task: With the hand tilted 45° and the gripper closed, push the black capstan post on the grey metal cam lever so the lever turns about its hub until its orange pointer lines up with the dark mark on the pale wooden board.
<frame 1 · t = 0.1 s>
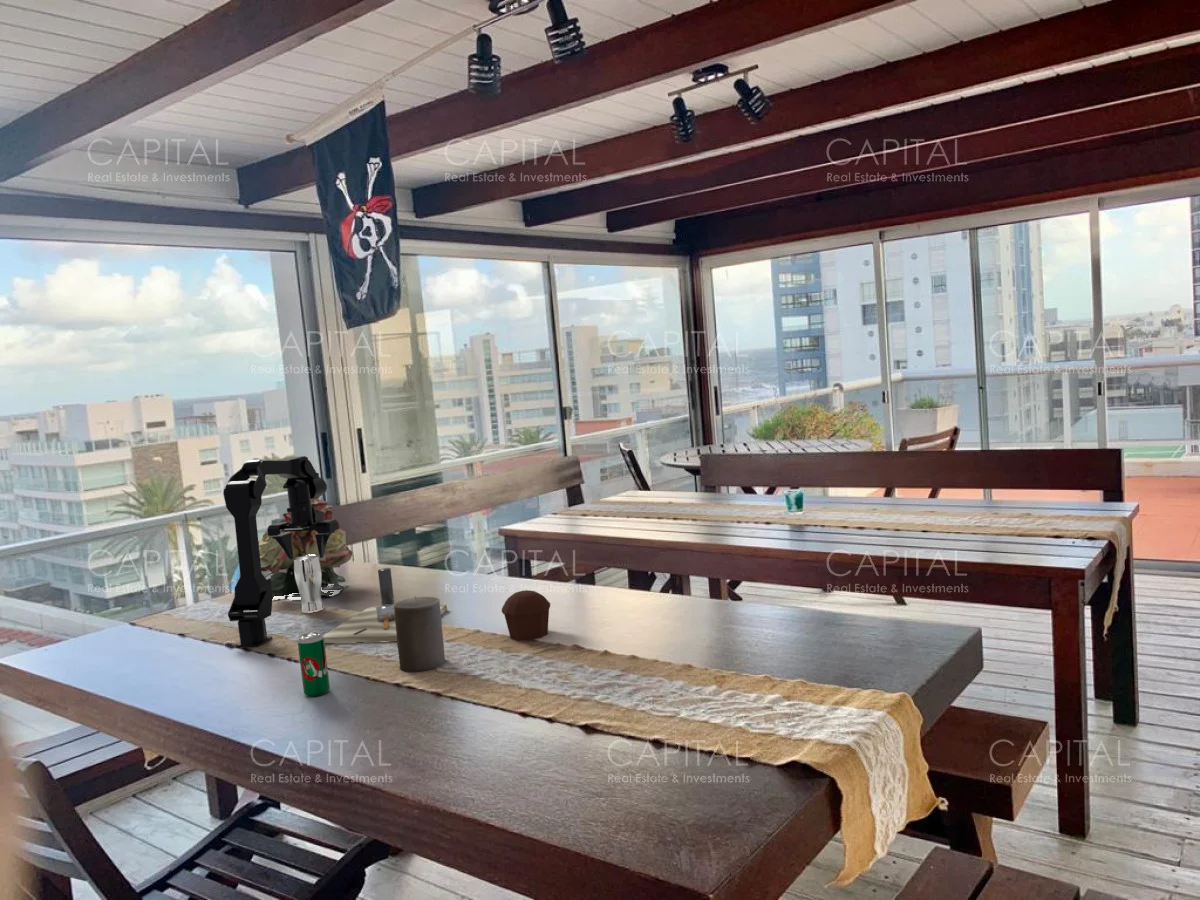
hand: (306, 558, 247), 15 cm above the table, tool pointing down, fingers open, 9 cm apart
cam lever: (385, 597, 225), point 7 cm above the table, hinge at 0.0°
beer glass: (312, 611, 248), on the table
pillar candle: (423, 665, 193), on the table
rose bouquet: (313, 592, 272), on the table
muffin: (528, 635, 207), on the table
dial board: (386, 626, 225), on the table
soda can: (317, 694, 180), on the table
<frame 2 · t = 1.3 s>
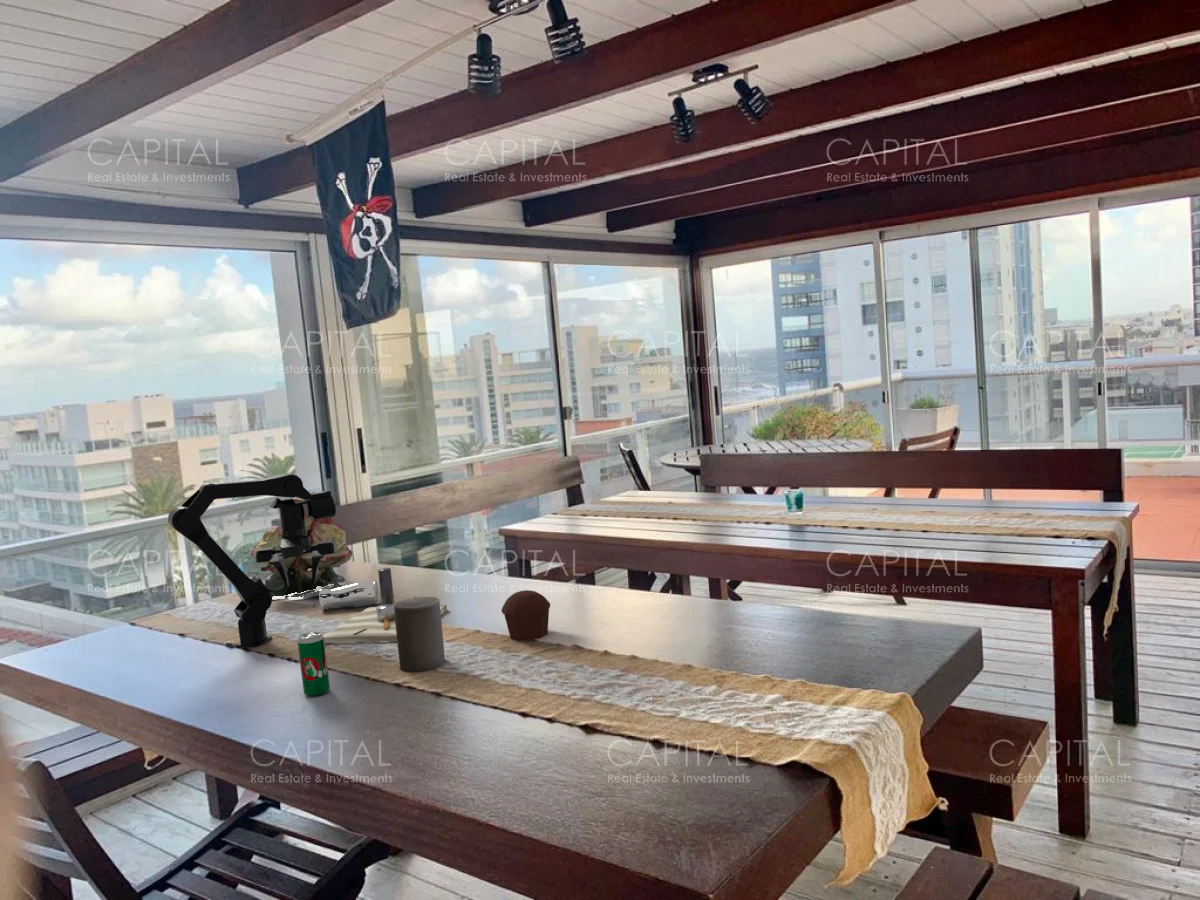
hand: (300, 584, 227), 12 cm above the table, tool pointing down, fingers open, 6 cm apart
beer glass: (321, 599, 248), point 3 cm above the table
everything else where it was.
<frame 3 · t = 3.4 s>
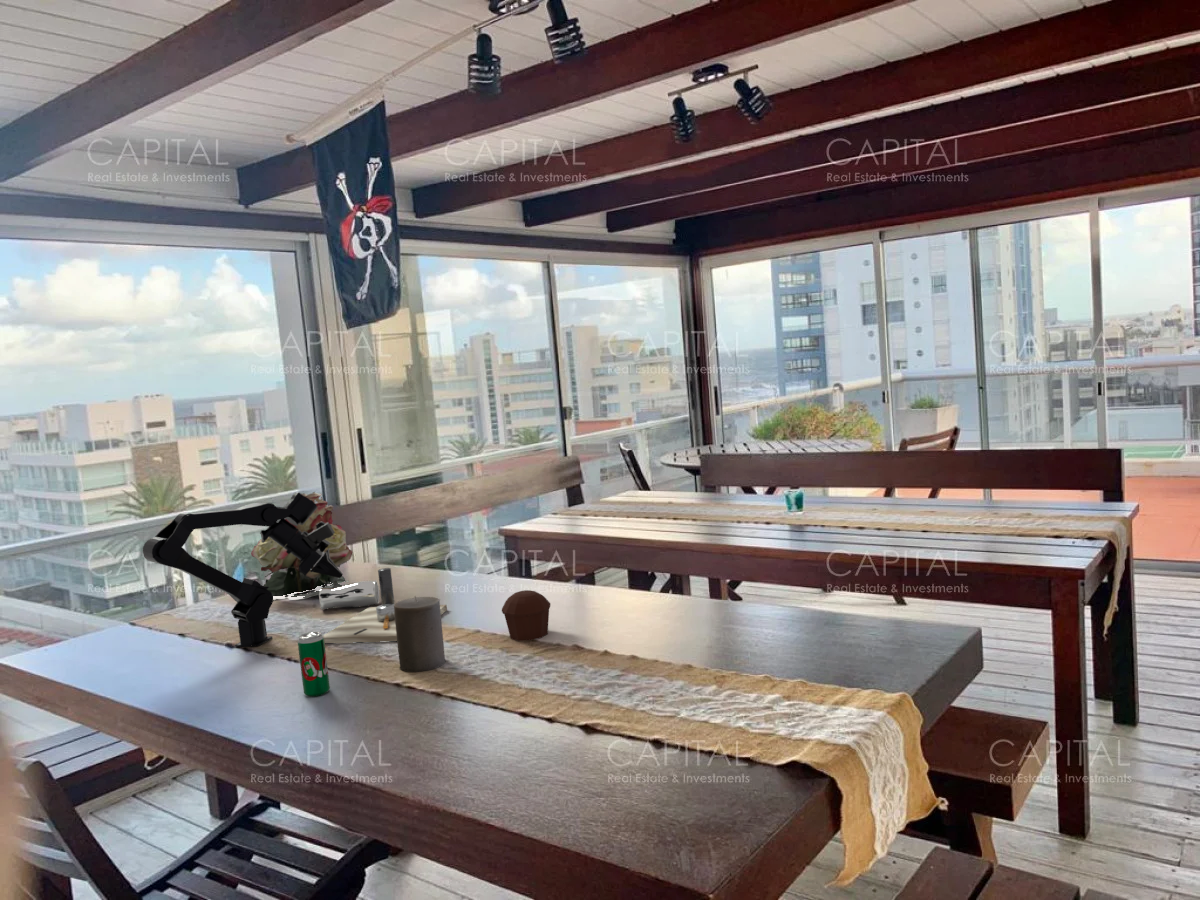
hand: (341, 576, 230), 13 cm above the table, tool tilted 45°, fingers closed
nothing on the table moved.
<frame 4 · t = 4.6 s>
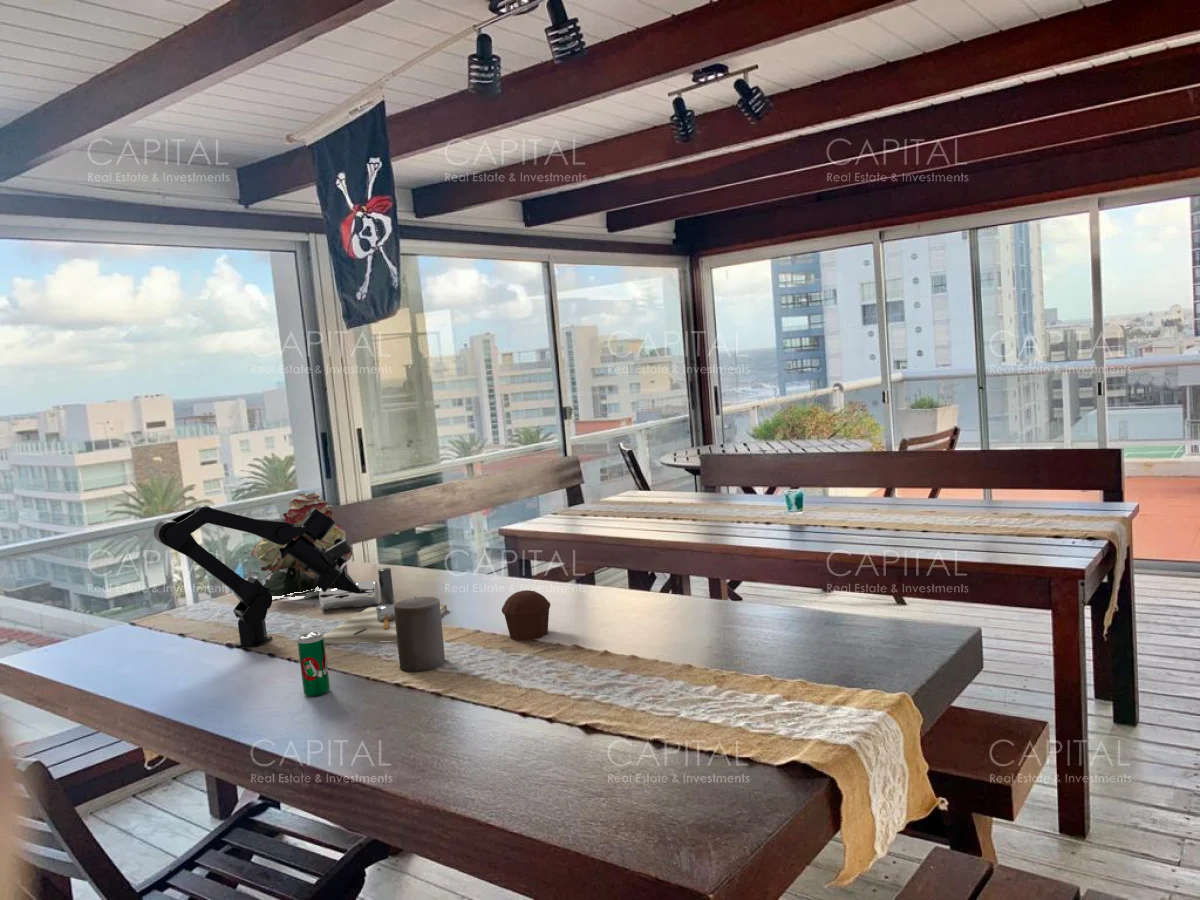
hand: (359, 592, 231), 8 cm above the table, tool tilted 45°, fingers closed
nothing on the table moved.
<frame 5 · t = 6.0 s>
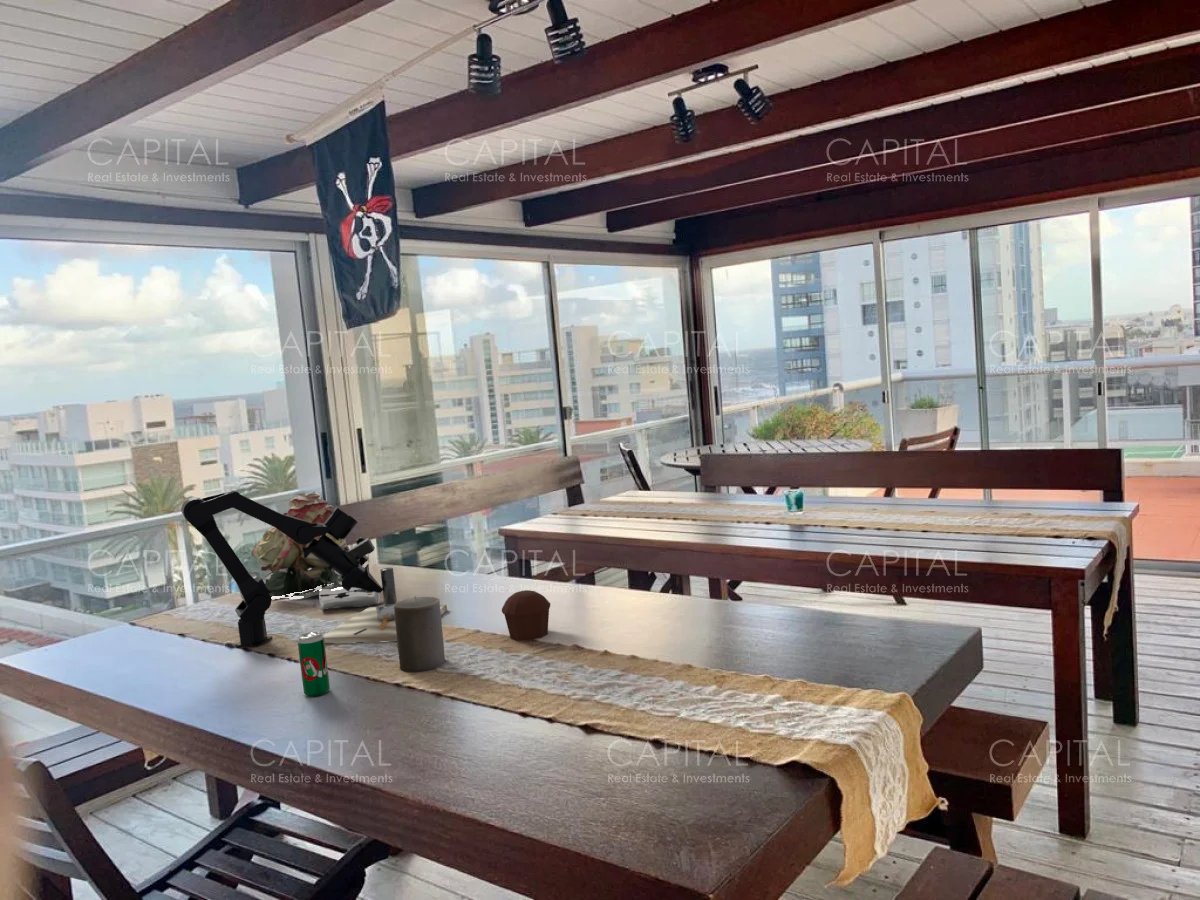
hand: (381, 591, 232), 7 cm above the table, tool tilted 45°, fingers closed, pressing on cam lever
cam lever: (384, 597, 225), point 7 cm above the table, hinge at -5.1°, touching gripper
everything else where it was.
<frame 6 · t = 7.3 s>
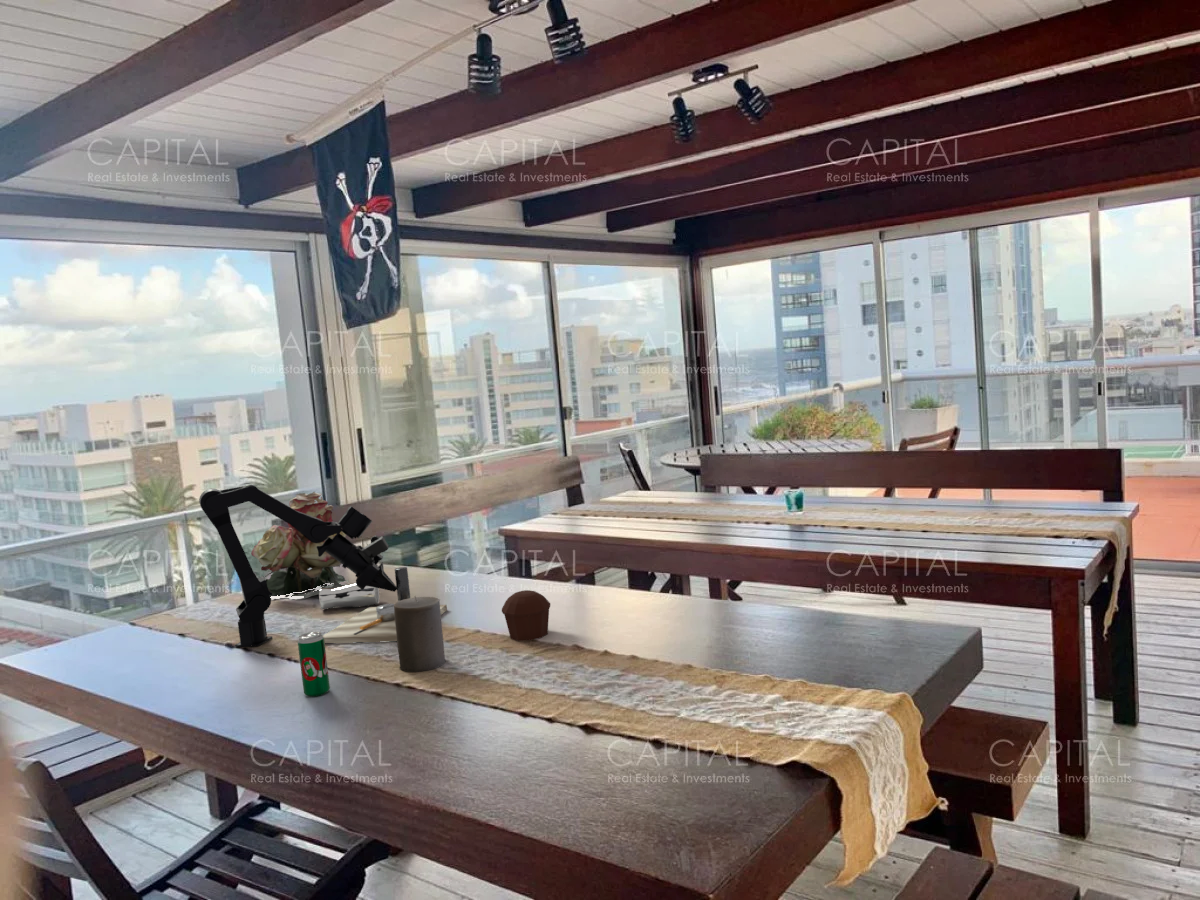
hand: (396, 589, 232), 7 cm above the table, tool tilted 45°, fingers closed
cam lever: (383, 597, 225), point 7 cm above the table, hinge at -37.3°, touching gripper
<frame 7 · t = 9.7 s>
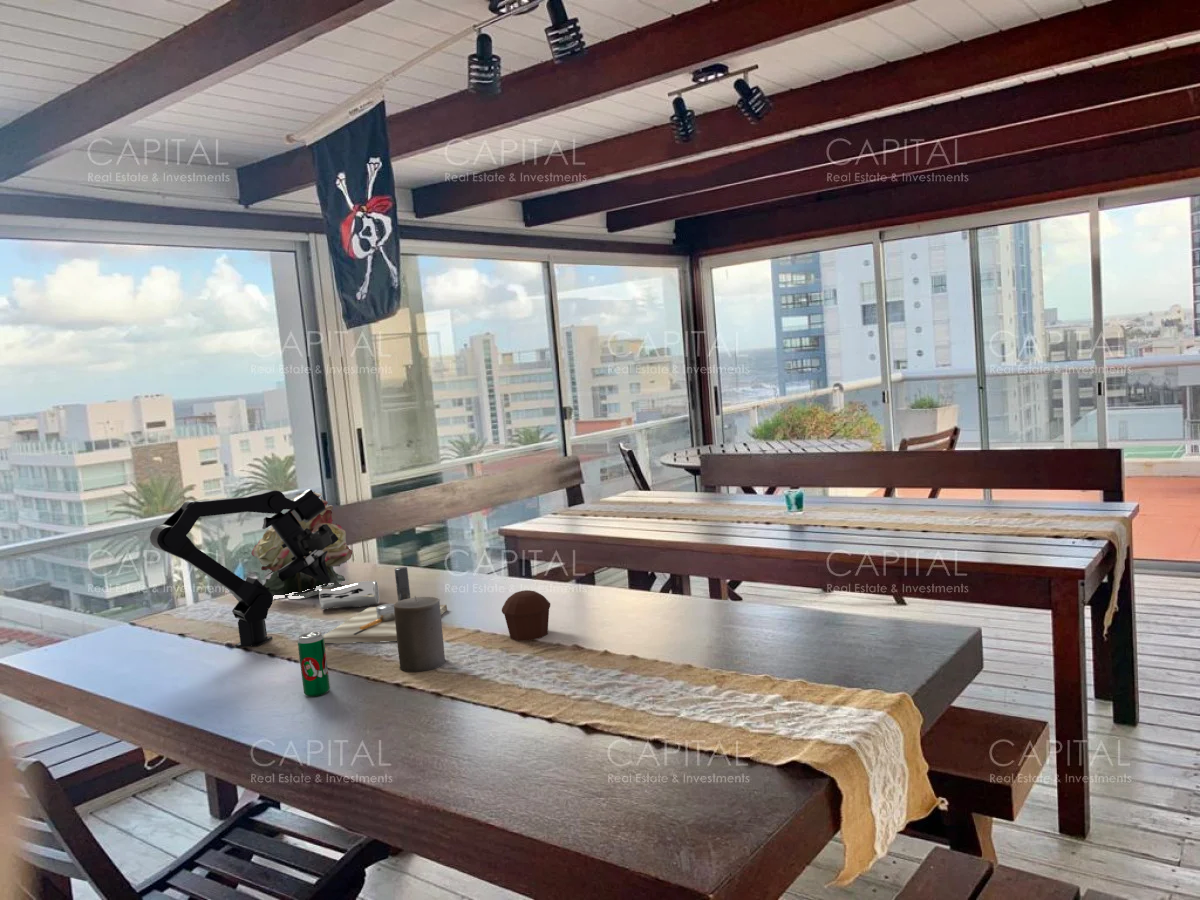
hand: (328, 583, 229), 11 cm above the table, tool tilted 30°, fingers closed
cam lever: (383, 597, 225), point 7 cm above the table, hinge at -37.4°
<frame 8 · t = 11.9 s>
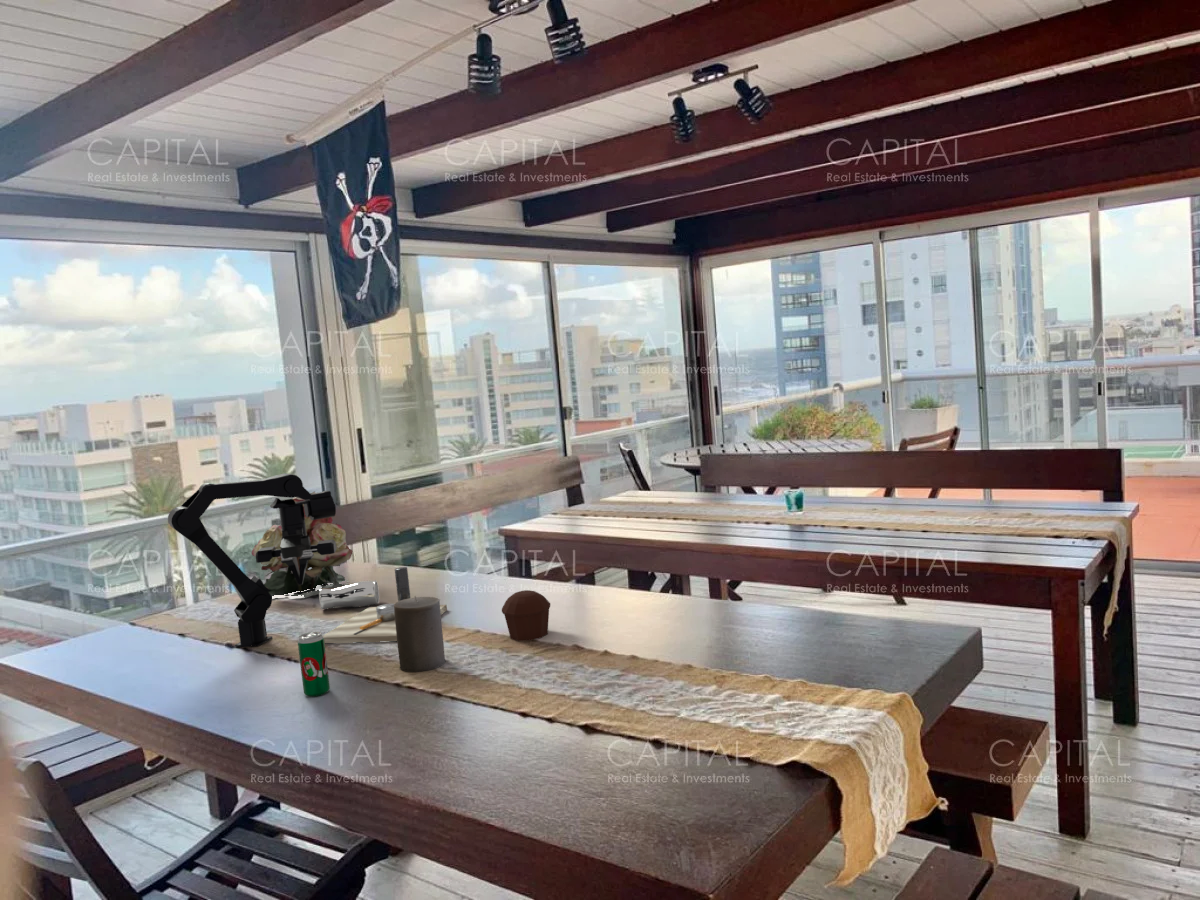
hand: (300, 584, 227), 12 cm above the table, tool pointing down, fingers closed
at the end: cam lever at -37° (first picture: +0°) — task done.
